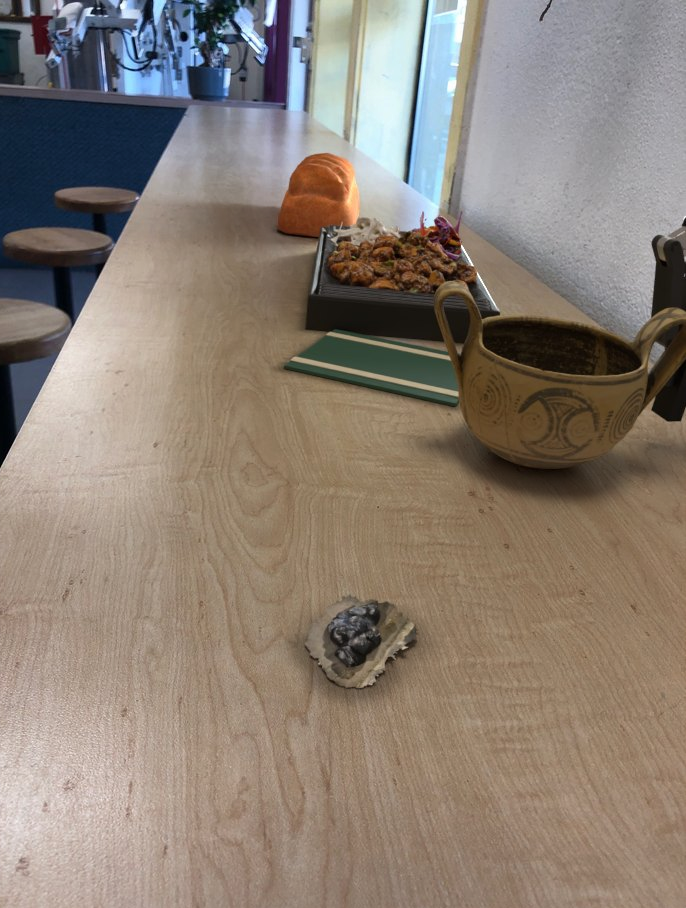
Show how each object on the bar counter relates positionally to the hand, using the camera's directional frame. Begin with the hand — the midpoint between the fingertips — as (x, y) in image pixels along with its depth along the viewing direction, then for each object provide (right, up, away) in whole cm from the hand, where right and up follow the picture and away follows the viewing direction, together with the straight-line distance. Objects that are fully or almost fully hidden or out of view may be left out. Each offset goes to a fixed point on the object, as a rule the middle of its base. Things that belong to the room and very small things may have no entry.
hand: (665, 415), depth 76 cm
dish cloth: (-25, +8, +16) cm, 31 cm away
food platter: (-22, +24, +45) cm, 56 cm away
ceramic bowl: (-14, -4, -2) cm, 14 cm away
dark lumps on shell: (-31, -17, -28) cm, 45 cm away
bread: (-33, +50, +88) cm, 106 cm away
